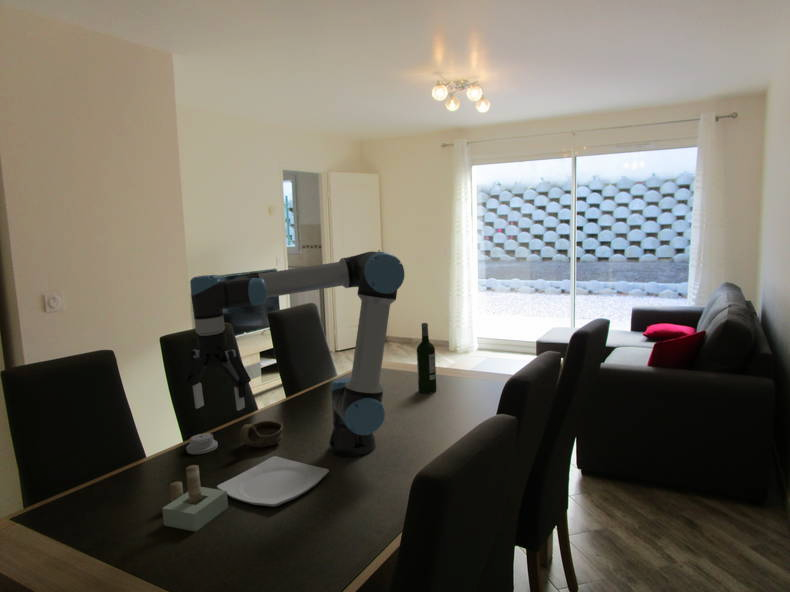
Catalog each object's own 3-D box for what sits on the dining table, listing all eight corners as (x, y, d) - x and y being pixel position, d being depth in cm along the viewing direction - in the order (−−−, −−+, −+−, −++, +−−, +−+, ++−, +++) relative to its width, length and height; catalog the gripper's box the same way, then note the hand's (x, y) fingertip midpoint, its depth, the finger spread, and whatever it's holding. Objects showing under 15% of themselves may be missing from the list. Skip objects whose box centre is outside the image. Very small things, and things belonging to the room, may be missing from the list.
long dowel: (205, 514, 137) (201, 465, 136) (197, 520, 134) (192, 470, 133) (196, 512, 138) (191, 464, 137) (188, 518, 135) (183, 469, 134)
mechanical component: (180, 454, 177) (208, 455, 175) (179, 442, 177) (206, 442, 175) (197, 443, 187) (223, 443, 185) (196, 430, 186) (222, 431, 184)
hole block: (228, 507, 140) (226, 490, 139) (195, 531, 129) (194, 514, 128) (198, 501, 144) (196, 486, 143) (164, 525, 133) (162, 508, 132)
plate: (275, 517, 134) (274, 507, 134) (210, 496, 147) (210, 487, 147) (335, 477, 155) (335, 468, 155) (274, 462, 168) (274, 453, 168)
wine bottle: (437, 393, 229) (434, 324, 226) (418, 393, 229) (415, 325, 226) (436, 387, 237) (433, 321, 234) (418, 388, 237) (415, 322, 234)
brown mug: (293, 439, 185) (290, 411, 184) (260, 459, 169) (257, 429, 168) (261, 435, 191) (259, 408, 190) (227, 454, 175) (224, 425, 174)
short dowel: (186, 503, 143) (184, 482, 142) (178, 509, 140) (176, 487, 140) (177, 501, 144) (175, 480, 144) (169, 507, 142) (167, 485, 141)
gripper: (258, 329, 144) (266, 404, 147) (183, 330, 152) (192, 401, 155) (241, 335, 137) (250, 414, 139) (164, 335, 145) (174, 410, 148)
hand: (220, 408), depth 147 cm, fingers open, 13 cm apart
